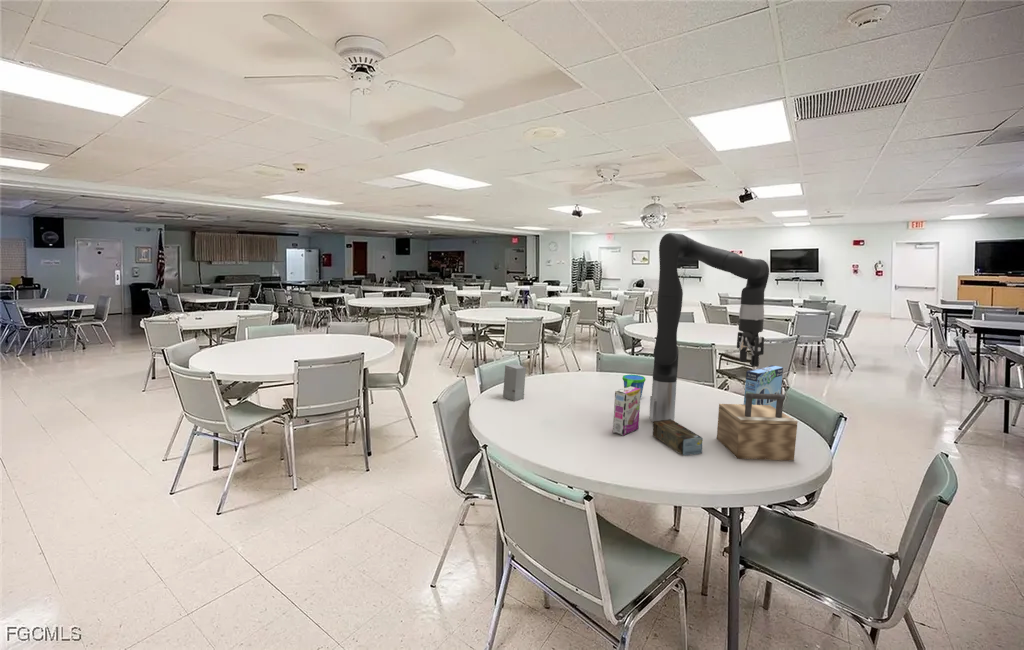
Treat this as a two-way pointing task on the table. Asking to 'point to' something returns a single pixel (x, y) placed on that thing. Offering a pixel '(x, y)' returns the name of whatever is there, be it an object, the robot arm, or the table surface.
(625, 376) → the snack cup
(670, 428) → the beverage carton
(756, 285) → the robot arm
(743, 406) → the lid
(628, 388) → the candy bar box
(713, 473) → the table surface
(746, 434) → the wooden box
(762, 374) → the gum box
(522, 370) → the skincare box
